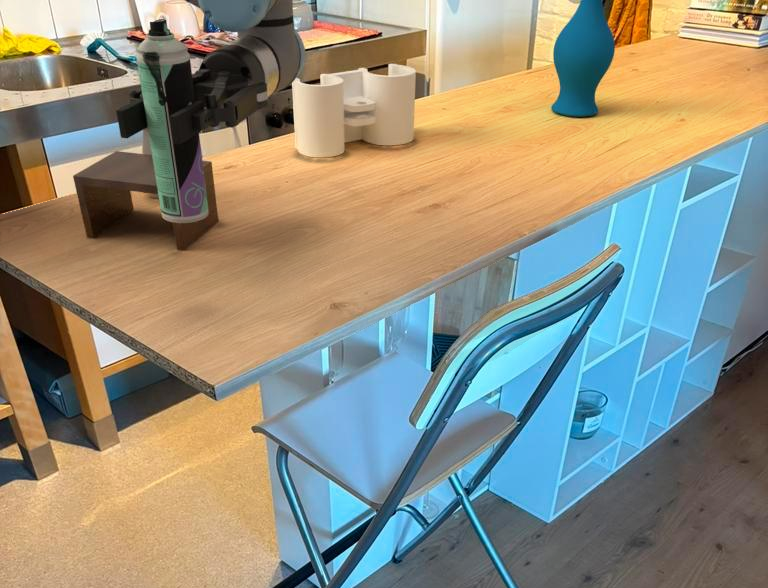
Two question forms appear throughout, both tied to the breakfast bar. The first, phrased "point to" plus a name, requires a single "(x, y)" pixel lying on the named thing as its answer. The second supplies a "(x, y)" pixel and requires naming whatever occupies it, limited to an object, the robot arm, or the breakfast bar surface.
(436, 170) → the breakfast bar surface
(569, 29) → the vase
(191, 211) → the spray can
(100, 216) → the shelf
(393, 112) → the bracket
